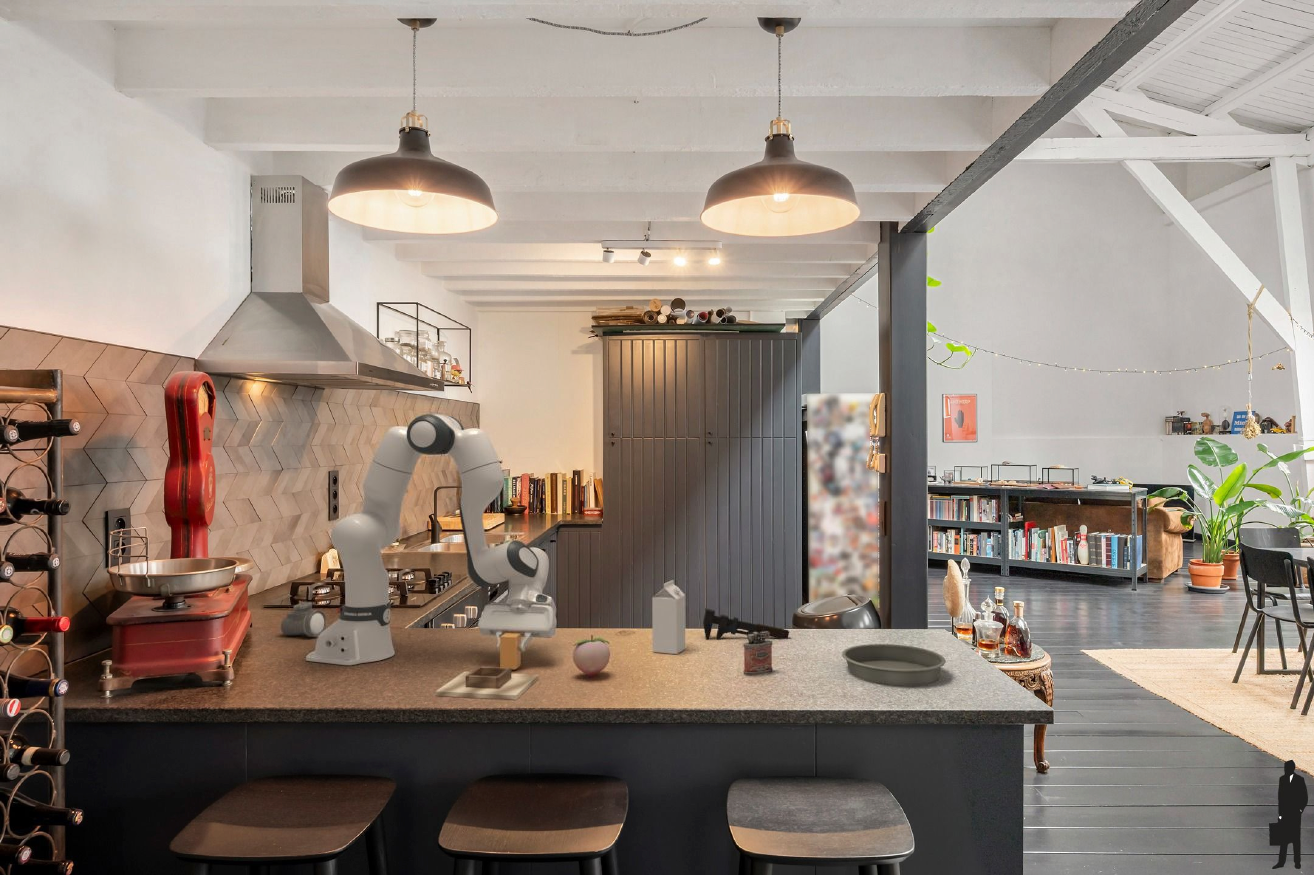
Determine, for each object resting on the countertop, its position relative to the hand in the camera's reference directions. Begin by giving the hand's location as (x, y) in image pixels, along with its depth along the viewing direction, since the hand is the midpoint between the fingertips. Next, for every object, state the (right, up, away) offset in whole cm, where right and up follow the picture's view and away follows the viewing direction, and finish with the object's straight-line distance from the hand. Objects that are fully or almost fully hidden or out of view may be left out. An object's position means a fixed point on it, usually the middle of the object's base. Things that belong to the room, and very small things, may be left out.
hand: (510, 649), depth 194 cm
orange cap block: (0, -4, 0) cm, 4 cm away
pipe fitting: (-70, -6, +37) cm, 79 cm away
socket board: (-2, -5, -15) cm, 16 cm away
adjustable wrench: (+64, -6, +31) cm, 71 cm away
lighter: (+62, -5, -4) cm, 63 cm away
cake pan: (+96, -5, -4) cm, 96 cm away
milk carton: (+41, -5, +18) cm, 45 cm away
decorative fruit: (+22, -5, -6) cm, 23 cm away
